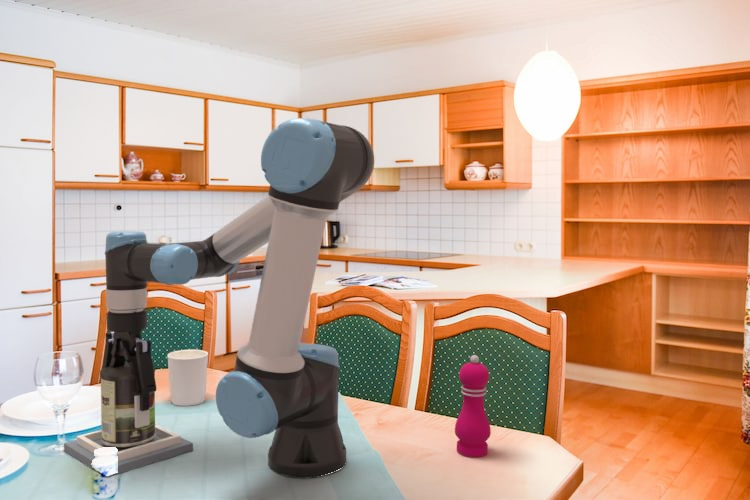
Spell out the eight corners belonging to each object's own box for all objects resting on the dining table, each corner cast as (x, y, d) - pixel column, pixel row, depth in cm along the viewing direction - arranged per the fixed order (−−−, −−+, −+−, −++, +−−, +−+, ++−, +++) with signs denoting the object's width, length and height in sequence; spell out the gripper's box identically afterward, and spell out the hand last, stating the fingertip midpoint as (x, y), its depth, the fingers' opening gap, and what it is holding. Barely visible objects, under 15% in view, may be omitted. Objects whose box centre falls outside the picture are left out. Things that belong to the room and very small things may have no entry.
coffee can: (165, 431, 135) (164, 364, 134) (137, 449, 125) (136, 377, 124) (120, 427, 137) (119, 361, 136) (89, 445, 127) (88, 373, 126)
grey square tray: (193, 450, 132) (193, 435, 132) (106, 477, 118) (105, 461, 118) (147, 428, 144) (147, 415, 144) (64, 450, 130) (63, 436, 130)
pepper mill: (447, 447, 135) (450, 352, 134) (477, 443, 138) (480, 349, 136) (466, 460, 129) (468, 360, 127) (497, 455, 131) (499, 357, 130)
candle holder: (216, 399, 165) (216, 352, 164) (186, 409, 157) (186, 360, 156) (189, 393, 170) (189, 347, 170) (159, 402, 162) (158, 354, 161)
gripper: (174, 314, 124) (176, 428, 126) (117, 301, 139) (119, 403, 141) (137, 319, 119) (139, 438, 120) (82, 304, 134) (84, 411, 135)
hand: (128, 419), depth 131 cm, fingers closed on coffee can, 10 cm apart
